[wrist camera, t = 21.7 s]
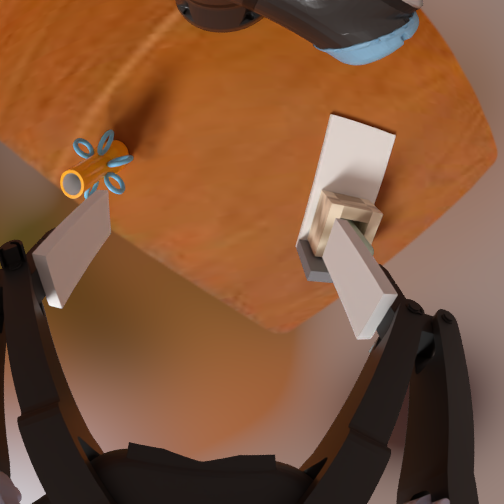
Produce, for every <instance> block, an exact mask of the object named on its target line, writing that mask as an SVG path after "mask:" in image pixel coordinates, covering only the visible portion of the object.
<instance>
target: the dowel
mask: <svg viewBox="0 0 504 504" xmlns="http://www.w3.org/2000/svg"><path fill="white" fill-rule="evenodd" d="M340 219H343V220H347V221H348V222H349V224H350V225H351V226H352V228H353V229H354V230H355V232H356V233H357V235H358V236H359V237H360V239H361V240H362V241H363V243H364V244H365V246H366V247H367V249H368V250H369V251H370V253H371V254H372V256H373V254H374V249H373V247H372V246H371V245H370V243H369V242H368V241H367V239H366V238H365V237H364V235H363V234H362V233H361V232H360V230H359V229H358V228H357V227H356V225H355V224H354V223H353V222H352V220H349V219H344V218H340Z"/></svg>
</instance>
